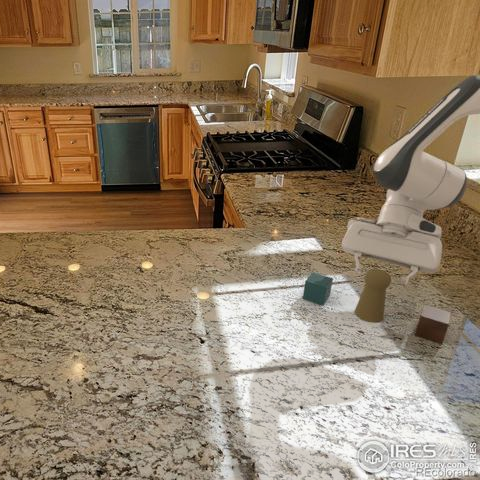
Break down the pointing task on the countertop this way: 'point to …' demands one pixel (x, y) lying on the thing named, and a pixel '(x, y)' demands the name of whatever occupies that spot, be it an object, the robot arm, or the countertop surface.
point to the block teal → (317, 288)
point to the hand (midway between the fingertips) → (380, 278)
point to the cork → (373, 296)
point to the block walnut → (433, 324)
